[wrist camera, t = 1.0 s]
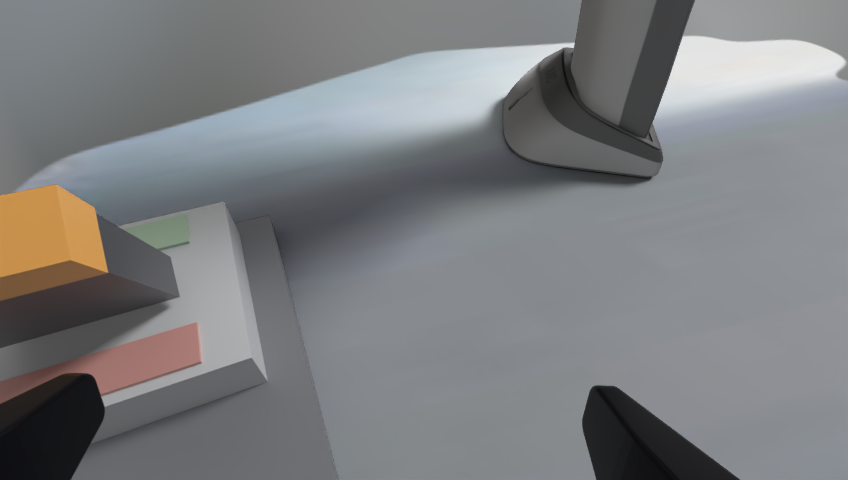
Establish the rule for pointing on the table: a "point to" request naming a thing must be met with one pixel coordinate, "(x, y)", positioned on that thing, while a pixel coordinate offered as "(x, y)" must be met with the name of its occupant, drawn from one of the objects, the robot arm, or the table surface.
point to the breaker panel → (195, 364)
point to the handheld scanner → (600, 90)
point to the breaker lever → (70, 266)
